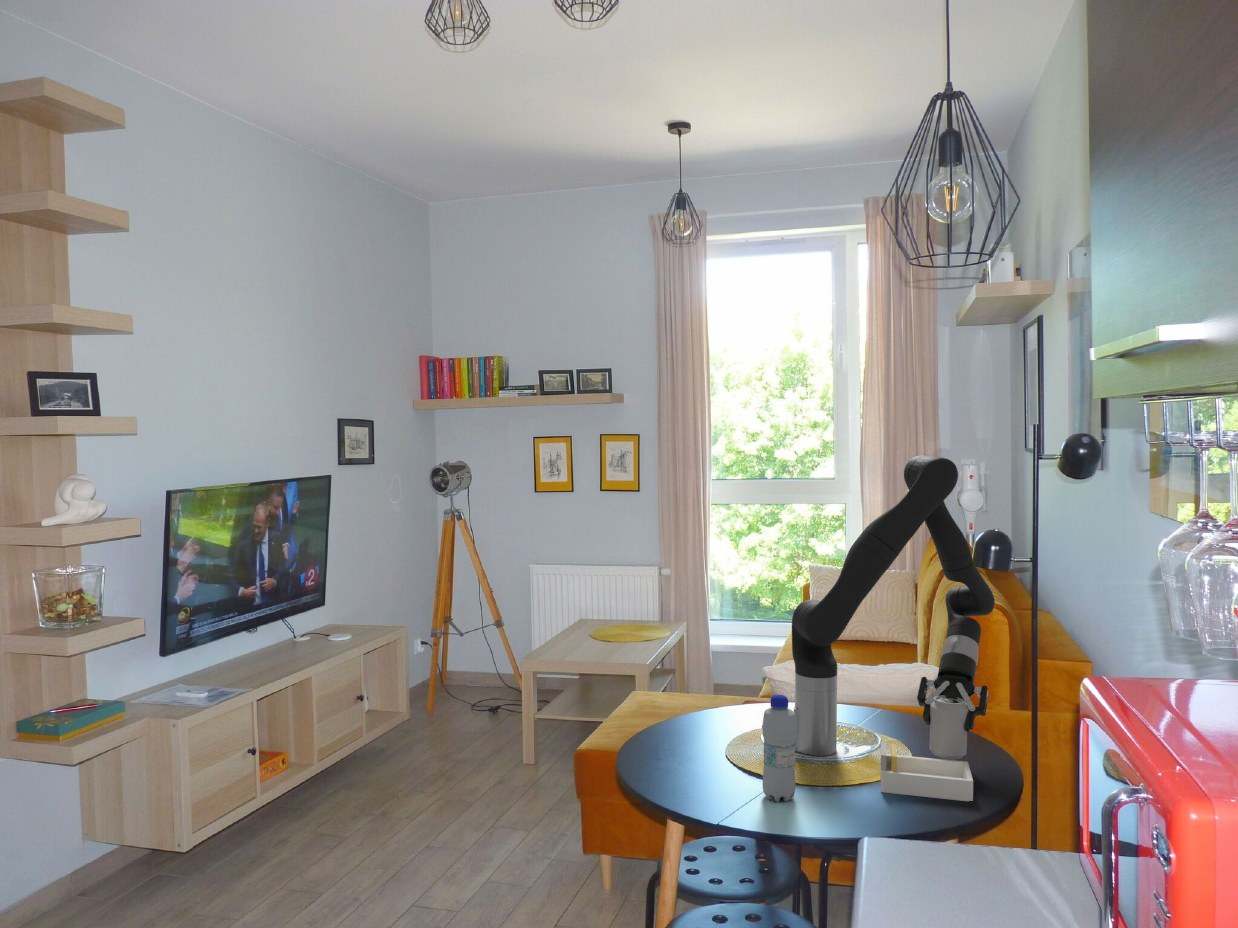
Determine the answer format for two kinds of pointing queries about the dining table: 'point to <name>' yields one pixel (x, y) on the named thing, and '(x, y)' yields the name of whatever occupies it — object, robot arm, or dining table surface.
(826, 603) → the robot arm
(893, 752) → the pusher paddle
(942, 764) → the white open box
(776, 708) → the bottle
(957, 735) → the can
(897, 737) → the dining table surface
